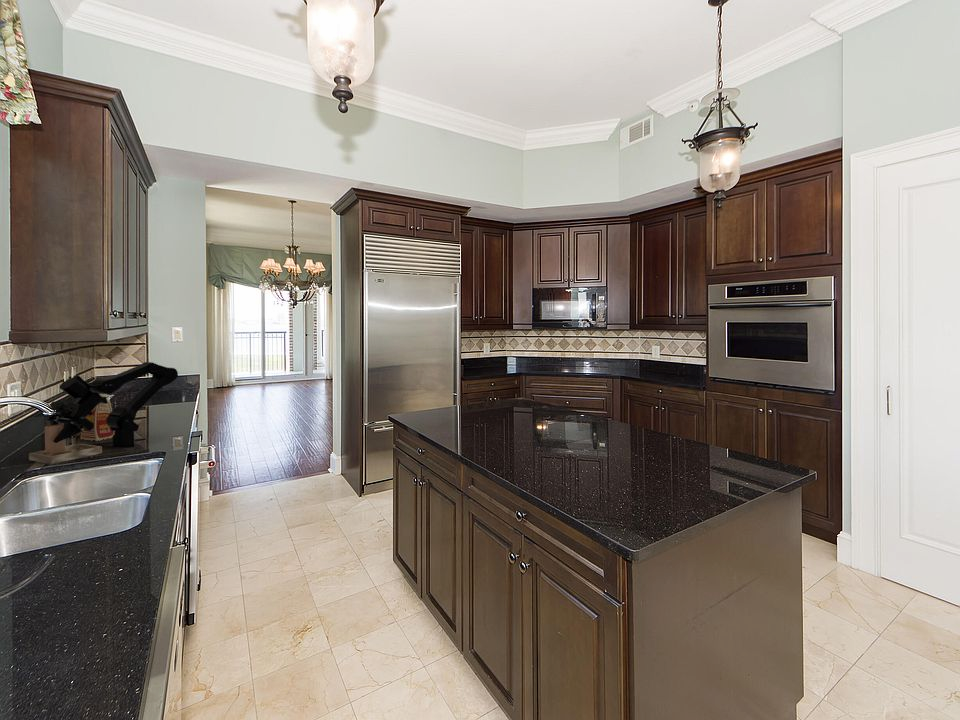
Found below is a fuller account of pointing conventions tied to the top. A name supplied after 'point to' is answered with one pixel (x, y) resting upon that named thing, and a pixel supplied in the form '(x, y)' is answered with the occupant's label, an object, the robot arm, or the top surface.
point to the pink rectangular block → (50, 435)
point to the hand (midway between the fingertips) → (50, 441)
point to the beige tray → (66, 454)
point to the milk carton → (99, 422)
